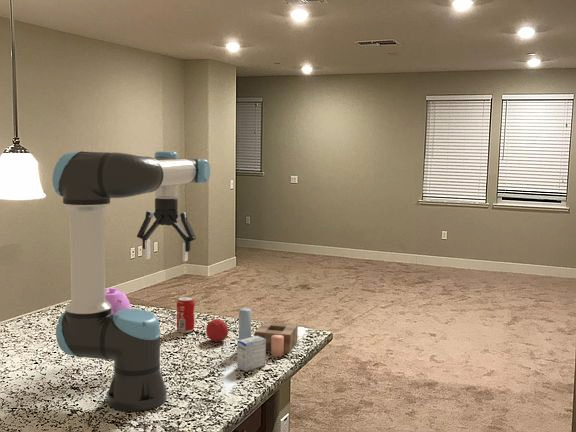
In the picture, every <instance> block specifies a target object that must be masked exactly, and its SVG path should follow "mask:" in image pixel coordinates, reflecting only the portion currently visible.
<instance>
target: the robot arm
mask: <svg viewBox="0 0 576 432" xmlns="http://www.w3.org/2000/svg"><path fill="white" fill-rule="evenodd" d="M210 177H211V164H210V162H209V161H208V160H207V159H204V158H178V153H177V152H176V151H166V150H164V151H163V150H162V151H159V150H157V151H156V152H155V153H154V157H151V156H144V155H143V156H142V155H137V154H132V153H124V152H110V151H109V152H106V151H105V152H103V151H84V150H80V151H68V152H67V153H64V154H63V155H61V156H60V157H59V159H58V160H57V161H56V163H55V165H54V168H53V172H52V180H51V181H52V186H53V189H54V192H55V193H56V195H59V197H62V204H63V206H64V207H65V208H66V209H67V210H68V211H69V249H70V252H69V253H70V256H69V257H70V261H69V262H70V295H71V296H70V298H71V301H70V302H69V303H68V304H67V305H66V306H65V310H64V312H63V313H61V315H60V316H59V317H58V320H57V322H58V323H57V324H56V328H55V338H56V342H57V345H58V347H59V349H60V350H61V351H62V352H63V353H64V354H65V355H69V356H72V357H73V356H74V357H77V358H86V359H87V358H88V359H97V360H98V359H99V360H108V361H113V363H114V364H113V365H114V366H113V369H114V370H113V372H114V373H113V376H112V378H111V381H110V384H109V385H110V386H109V388H108V391H107V405H108V406H109V407H110V408H112V409H114V410H117V411H122V412H142V411H146V410H147V411H148V410H152V409H155V408H157V407H159V406H161V405H163V404H164V403H165V402H166V401H167V394H168V393H167V391H168V390H167V386H166V383H165V381H164V378H163V375H162V373H161V365H160V364H161V330H160V329H161V328H160V319H159V317H158V316H157V315H156V314H154V313H153V312H151V311H147V310H144V309H139V308H131V309H122V310H119V311H117V312H115V314H114V315H112V313H111V312H112V311H111V304H110V303H109V302H107V301H106V299H105V289H106V255H105V253H106V250H105V247H106V244H105V243H106V242H105V239H106V238H105V236H106V235H105V234H106V233H105V210H106V209H107V208H108V207H109V206H110V205H111V199H122V198H130V197H134V196H139V195H143V194H149V193H150V194H151V193H153V192H154V197H155V199H154V211H152V210H147V211H145V217H144V220H143V222H142V224H141V226H140V228H139V230H138V232H137V235H136V237H137V238H138V239H140V240H141V241H142V250H144V260H149V259H151V239H150V237H151V235H153V233H154V232H155V231H156V230H157V228H158V227H159V226H164V225H165V226H172V227H173V228H174V230H175V231H176V232H177V233H178V235H180V237H181V238H182V239H183V241H184V242H182V262H183V263H185V262H187V261H188V260H189V258H188V257H189V255H188V254H189V252H190V251H191V242H193V241H195V240H196V239H197V237H196V235H195V233H194V230H193V228H192V227H191V224H190V221H189V219H188V215H187V214H188V213H187V212H180V213H179V211H178V208H179V207H178V192H179V191H178V187H179V186H178V185H182V184H191V183H192V184H205V183H208V181H209V179H210ZM152 218H154V219H155V220H154V222H153V223H152V225H151V226H150V227H149V224H150V223H151V220H152ZM178 218H179V219H180V220H181V223H182V225H183V227H184V228H183V227H182V225H181V224H180V222H179V221H178ZM148 227H149V228H148ZM184 229H185V230H184Z"/></svg>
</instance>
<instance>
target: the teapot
mask: <svg viewBox="0 0 576 432" xmlns="http://www.w3.org/2000/svg"><path fill="white" fill-rule="evenodd" d="M105 299H106V301H107V302H109V303H110V304H111V311H112V312H111V313H112V315H114V314H115V312H117V311H119V310H122V309H132V307H131V303H130V300H129V298H128V297H127V295H126V293H125V292H124V291H122V290H119V289H117V288H116V287H109V288H105Z"/></svg>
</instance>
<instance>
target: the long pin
mask: <svg viewBox="0 0 576 432" xmlns="http://www.w3.org/2000/svg"><path fill="white" fill-rule="evenodd" d="M249 337H252V309H251V308H248V307H247V308H246V307H243V308H239V309H238V341H239V340H242V339H246V338H249Z"/></svg>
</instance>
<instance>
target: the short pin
mask: <svg viewBox="0 0 576 432" xmlns="http://www.w3.org/2000/svg"><path fill="white" fill-rule="evenodd" d="M283 351H284V336H282V335H273V336H271V351H270V355H271V356H272V357H275V358H276V357H277V358H279V357H283V356H284V352H283Z"/></svg>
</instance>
